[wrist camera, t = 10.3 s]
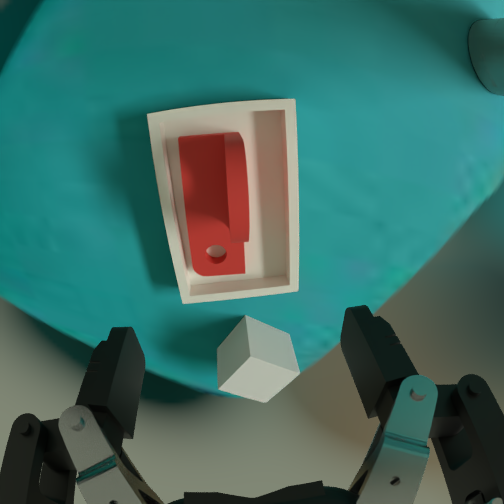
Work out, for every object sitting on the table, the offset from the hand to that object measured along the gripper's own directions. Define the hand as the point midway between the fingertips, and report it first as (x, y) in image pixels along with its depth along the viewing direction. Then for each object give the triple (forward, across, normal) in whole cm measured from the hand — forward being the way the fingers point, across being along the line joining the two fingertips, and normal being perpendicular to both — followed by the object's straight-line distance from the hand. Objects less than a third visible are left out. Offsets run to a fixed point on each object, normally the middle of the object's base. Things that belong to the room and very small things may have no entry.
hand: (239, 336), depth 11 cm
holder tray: (+16, 0, +1) cm, 16 cm away
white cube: (+16, -1, +18) cm, 24 cm away
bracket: (+16, +1, +1) cm, 16 cm away
